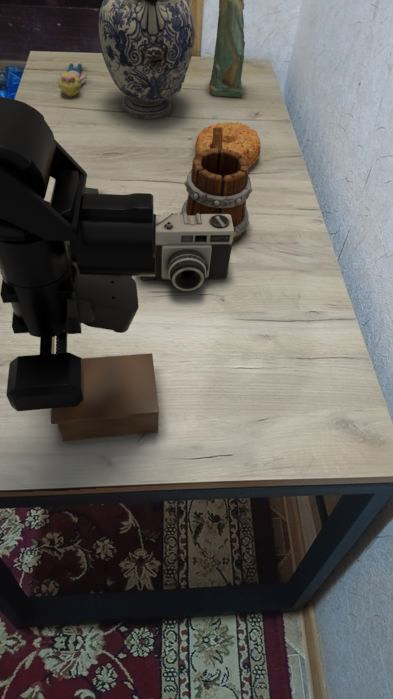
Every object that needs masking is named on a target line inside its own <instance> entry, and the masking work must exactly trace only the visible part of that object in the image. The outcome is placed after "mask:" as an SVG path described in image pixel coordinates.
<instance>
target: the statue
mask: <svg viewBox="0 0 393 699" xmlns="http://www.w3.org/2000/svg"><path fill="white" fill-rule="evenodd" d="M218 2H219V3H218V17H217V28H216V39H215V47H214V54H213V65H212V70H211V75H210V81H209V93H210V94H211V95H212V96H216V97H230V98H241V97H242V94H243V86H242V85H243V84H242V77H243V76H242V74H243V68H244V61H245V46H246V42H245V33H244V32H245V31H244V28H245V18H244V10H245V2H244V0H218Z"/></svg>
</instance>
